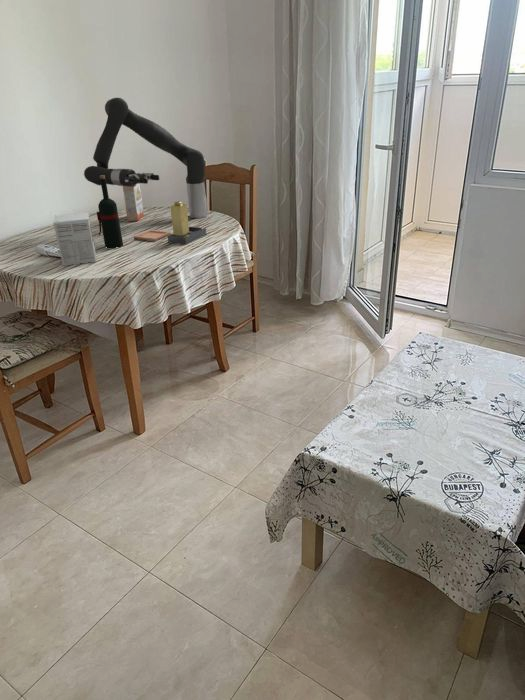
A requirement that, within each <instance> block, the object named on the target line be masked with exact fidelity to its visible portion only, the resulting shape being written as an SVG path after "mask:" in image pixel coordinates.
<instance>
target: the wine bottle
mask: <svg viewBox="0 0 525 700" xmlns="http://www.w3.org/2000/svg"><path fill="white" fill-rule="evenodd" d="M100 178H101V179H100V181H101V185H100V186H101V190H102V191H101V192H102V197H103V198H102V199H101V200H100V201H99V203H98V211H96V216H97V221H98V226H99V233H98V237H99V236H101V233H102V236H103V243H104V248H106V247H107V248H106V249H109V248H113V249H117V248H116V247H119V248H122V247H124V241H123V236H122V230H121V224H120V223H121V222H120V218H119V212H118V205H117V202H115V200H114V199H112V198H110V195H109V192H108V184H106V178H105V175H101V176H100ZM121 246H122V247H121Z"/></svg>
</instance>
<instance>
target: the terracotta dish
mask: <svg viewBox="0 0 525 700" xmlns="http://www.w3.org/2000/svg"><path fill="white" fill-rule="evenodd" d="M170 234H172V233H171V231H164V230H155V229H153V230H152V229H149V230H146V231H144V232H141V233H139V234H137V235H134V236H133V240H134V239H137V240H136V241H144V240H147V241H146V242H153V241H155V242H159V241H161V240H163V239H165V238H168V235H170ZM160 239H161V240H160ZM158 240H159V241H158ZM155 242H154V243H155Z"/></svg>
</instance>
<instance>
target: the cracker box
mask: <svg viewBox="0 0 525 700" xmlns="http://www.w3.org/2000/svg"><path fill="white" fill-rule="evenodd" d="M122 189H123V196H124V197H123V198H124V205H125V212H126V218H127V222H138V221H139V220H141V218H142V217H144V208H143V206H144V205H143V199H142V191H141V183H140V184H135V185H134V186H133V187H129V186H122Z"/></svg>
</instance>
